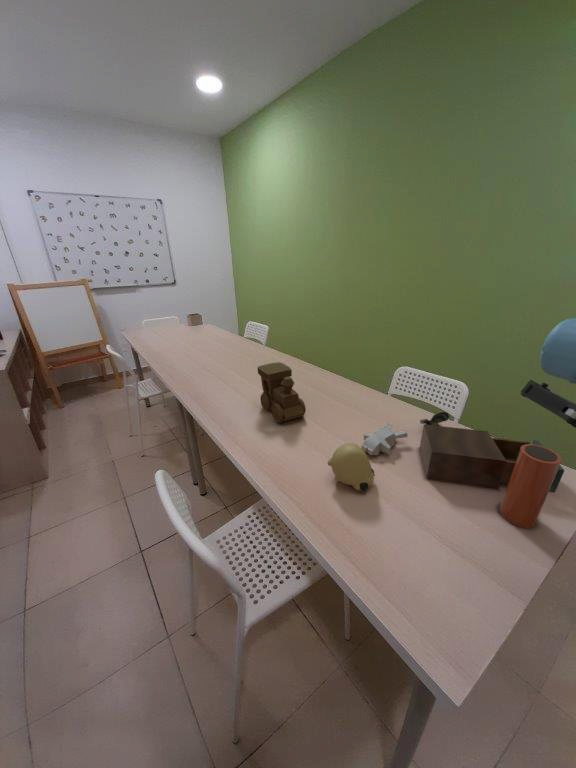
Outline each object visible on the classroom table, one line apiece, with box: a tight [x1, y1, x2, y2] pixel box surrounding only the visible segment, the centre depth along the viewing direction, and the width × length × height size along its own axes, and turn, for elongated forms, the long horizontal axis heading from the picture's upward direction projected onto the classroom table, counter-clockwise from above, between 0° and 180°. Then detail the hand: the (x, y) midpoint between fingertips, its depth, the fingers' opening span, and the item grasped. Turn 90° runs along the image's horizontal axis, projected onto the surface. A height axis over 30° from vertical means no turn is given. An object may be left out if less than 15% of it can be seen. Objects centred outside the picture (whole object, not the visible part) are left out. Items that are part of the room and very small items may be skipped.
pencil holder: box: [499, 443, 563, 529], centre depth 64 cm, size 7×7×17 cm
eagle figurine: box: [419, 411, 450, 426], centre depth 99 cm, size 8×7×9 cm
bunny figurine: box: [361, 423, 409, 457], centre depth 92 cm, size 10×5×15 cm
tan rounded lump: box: [327, 442, 376, 492], centre depth 77 cm, size 10×12×11 cm
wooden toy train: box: [257, 361, 307, 424], centre depth 111 cm, size 20×11×17 cm, turn 29°
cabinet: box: [419, 424, 507, 490], centre depth 81 cm, size 17×14×9 cm
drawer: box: [492, 437, 565, 494], centre depth 78 cm, size 17×12×7 cm
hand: (564, 405), depth 55 cm, fingers open, 13 cm apart
